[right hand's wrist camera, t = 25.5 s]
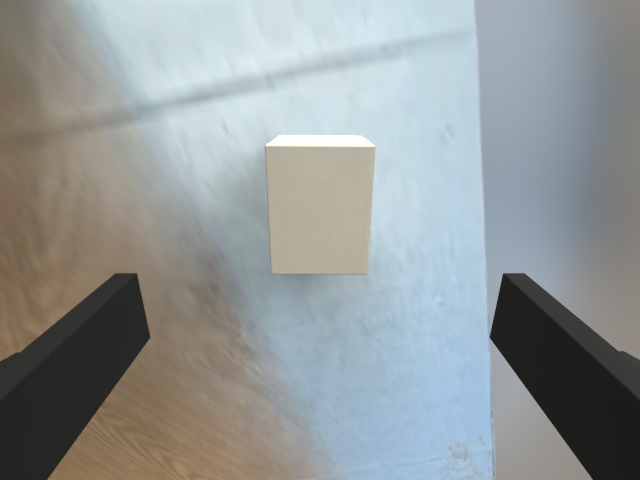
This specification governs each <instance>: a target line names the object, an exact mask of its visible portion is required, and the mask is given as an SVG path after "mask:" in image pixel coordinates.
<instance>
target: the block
mask: <svg viewBox="0 0 640 480" xmlns="http://www.w3.org/2000/svg"><path fill="white" fill-rule="evenodd" d="M265 155H266V175H267V196H268V216H269V236H270V256H271V273H272V274H368V261H369V245H370V229H371V212H372V196H373V180H374V164H375V146H374V145H373V144H372V143H370V142H369V141H368V140H367V139H365V138H364V137H363V136H349V135H279V136H277V137H276V138H275V139H273V140H272V141H271V142H269V143H268V144H267V145H266V146H265Z"/></svg>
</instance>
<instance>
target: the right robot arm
mask: <svg viewBox="0 0 640 480" xmlns="http://www.w3.org/2000/svg"><path fill="white" fill-rule="evenodd" d="M149 339H150V334H149V329H148V324H147V320H146V315H145V310H144V305H143V301H142V296H141V291H140V286H139V282H138V277H137V273H115V274H114V275H113V276H112V277H111V278H109V279H108V280H107V281H106V282H105V283H103V284H102V285H101V286H100V287H99V288H97V289H96V290H95V291H94V292H92V293H91V294H90V295H89V296H88V297H86V298H85V299H84V300H83V301H82V302H80V303H79V304H78V305H77V306H76V307H74V308H73V309H72V310H71V311H70V312H68V313H67V314H66V315H65V316H64V317H62V318H61V319H60V320H59V321H58V322H56V323H55V324H54V325H53V326H51V327H50V328H49V329H48V330H47V331H45V332H44V333H43V334H42V335H41V336H39V337H38V338H37V339H36V340H35V341H33V342H32V343H31V344H30V345H29V346H27V347H26V348H25V349H24V350H23V351H21V352H20V353H15V354H13V355H11V356H10V357H8V358H6V359H4V360H2V361H0V480H47V479H48V478H49V476H50V475H51V473H52V472H53V471H54V469H55V468H56V467H57V465H58V464H59V462H60V461H61V460H62V458H63V457H64V456H65V454H66V453H67V451H68V450H69V449H70V447H71V446H72V445H73V443H74V442H75V440H76V439H77V438H78V436H79V435H80V434H81V432H82V431H83V429H84V428H85V427H86V425H87V424H88V423H89V421H90V420H91V418H92V417H93V416H94V414H95V413H96V412H97V410H98V409H99V407H100V406H101V405H102V403H103V402H104V400H105V399H106V398H107V396H108V395H109V394H110V392H111V391H112V389H113V388H114V387H115V385H116V384H117V383H118V381H119V380H120V378H121V377H122V376H123V374H124V373H125V372H126V370H127V369H128V367H129V366H130V365H131V363H132V362H133V361H134V359H135V358H136V356H137V355H138V354H139V352H140V351H141V350H142V348H143V347H144V345H145V344H146V343H147V341H148V340H149ZM490 339H491V340H492V341H493V343H494V344H495V345H496V347H497V348H498V350H499V351H500V352H501V354H502V355H503V356H504V358H505V359H506V361H507V362H508V363H509V365H510V366H511V367H512V369H513V370H514V372H515V373H516V374H517V376H518V377H519V378H520V380H521V381H522V383H523V384H524V385H525V387H526V388H527V389H528V391H529V392H530V394H531V395H532V396H533V398H534V399H535V400H536V402H537V403H538V405H539V406H540V407H541V409H542V410H543V411H544V413H545V414H546V416H547V417H548V418H549V420H550V421H551V422H552V424H553V425H554V427H555V428H556V429H557V431H558V432H559V434H560V435H561V436H562V438H563V439H564V440H565V442H566V443H567V445H568V446H569V447H570V449H571V450H572V451H573V453H574V454H575V456H576V457H577V458H578V460H579V461H580V462H581V464H582V465H583V467H584V468H585V469H586V471H587V472H588V473H589V475H590V476H591V478H592V479H593V480H640V360H639V359H637V358H635V357H633V356H631V355H630V354H628V353H626V352H624V351H617V350H616V349H615V348H614V347H613V346H611V345H610V344H609V343H608V342H607V341H605V340H604V339H603V338H602V337H601V336H599V335H598V334H597V333H596V332H594V331H593V330H592V329H591V328H590V327H589V326H587V325H586V324H585V323H584V322H582V321H581V320H580V319H579V318H578V317H576V316H575V315H574V314H573V313H572V312H570V311H569V310H568V309H567V308H566V307H564V306H563V305H562V304H561V303H560V302H558V301H557V300H556V299H555V298H553V297H552V296H551V295H550V294H549V293H548V292H546V291H545V290H544V289H543V288H541V287H540V286H539V285H538V284H537V283H535V282H534V281H533V280H532V279H531V278H529V277H528V276H527V275H526V274H524V273H504V274H503V277H502V282H501V286H500V291H499V296H498V301H497V305H496V310H495V315H494V320H493V324H492V329H491V334H490Z"/></svg>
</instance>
